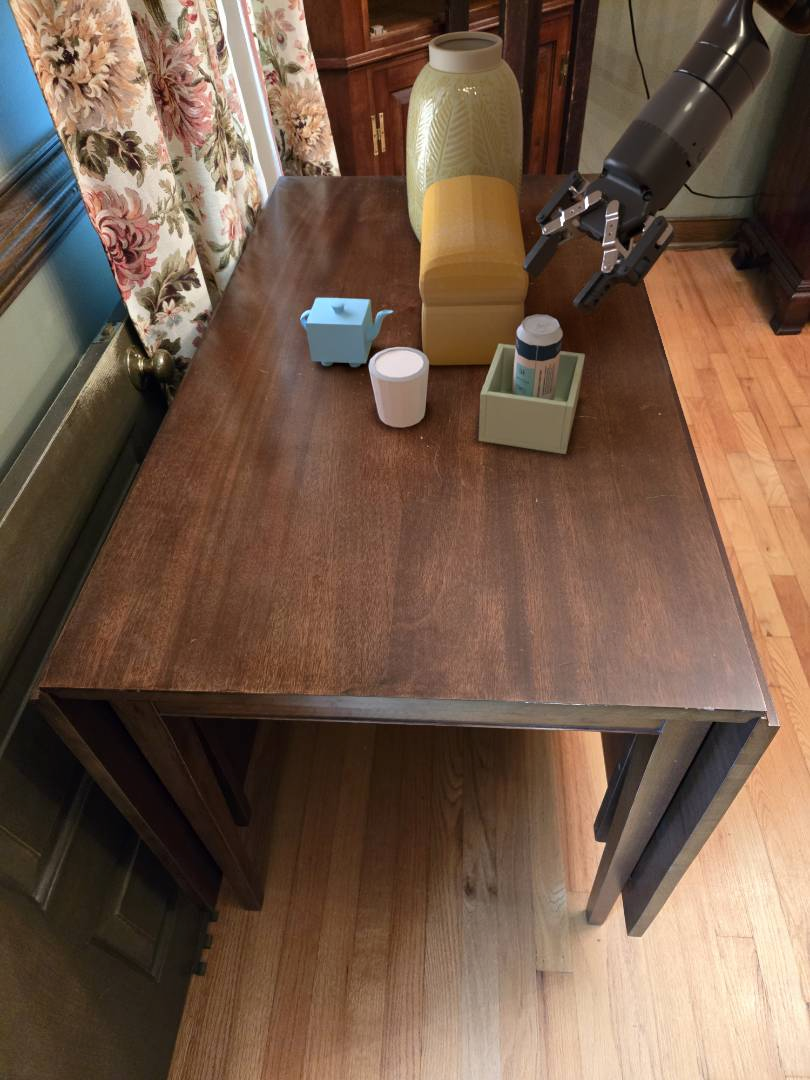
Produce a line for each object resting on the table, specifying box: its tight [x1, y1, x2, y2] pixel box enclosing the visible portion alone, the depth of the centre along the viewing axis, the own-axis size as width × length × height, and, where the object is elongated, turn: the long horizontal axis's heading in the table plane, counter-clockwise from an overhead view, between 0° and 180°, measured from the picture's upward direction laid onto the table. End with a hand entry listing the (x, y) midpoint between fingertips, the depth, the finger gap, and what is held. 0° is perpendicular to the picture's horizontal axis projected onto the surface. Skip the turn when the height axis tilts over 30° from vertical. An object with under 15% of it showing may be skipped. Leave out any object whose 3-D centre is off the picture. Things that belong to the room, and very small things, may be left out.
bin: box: [478, 343, 586, 455], centre depth 82 cm, size 10×10×7 cm
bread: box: [418, 175, 530, 366], centre depth 95 cm, size 24×13×15 cm, turn 178°
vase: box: [405, 30, 524, 245], centre depth 105 cm, size 17×17×27 cm
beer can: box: [512, 314, 564, 400], centre depth 80 cm, size 5×5×12 cm
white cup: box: [368, 346, 430, 428], centre depth 84 cm, size 7×7×7 cm
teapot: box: [300, 297, 394, 368], centre depth 93 cm, size 12×6×8 cm, turn 82°
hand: (553, 291), depth 73 cm, fingers open, 8 cm apart
